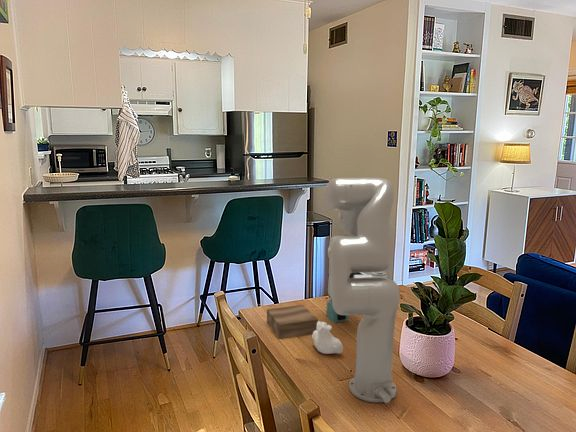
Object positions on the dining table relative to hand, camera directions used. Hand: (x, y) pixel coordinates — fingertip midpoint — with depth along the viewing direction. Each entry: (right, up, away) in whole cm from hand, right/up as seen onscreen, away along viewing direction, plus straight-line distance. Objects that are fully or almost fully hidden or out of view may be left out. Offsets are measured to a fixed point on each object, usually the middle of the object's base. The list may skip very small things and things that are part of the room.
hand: (337, 315), depth 171 cm
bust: (-7, -6, -25) cm, 27 cm away
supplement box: (+11, +1, +11) cm, 15 cm away
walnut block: (-17, -2, -8) cm, 19 cm away
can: (+18, +2, +19) cm, 27 cm away
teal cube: (0, -1, 0) cm, 1 cm away
